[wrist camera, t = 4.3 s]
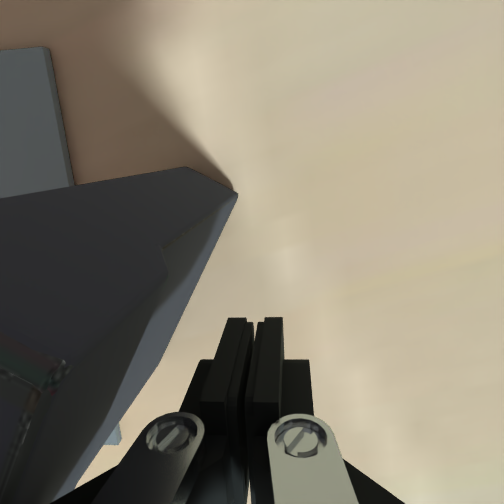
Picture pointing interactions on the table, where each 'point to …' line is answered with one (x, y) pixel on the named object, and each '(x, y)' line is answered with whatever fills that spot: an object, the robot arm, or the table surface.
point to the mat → (32, 132)
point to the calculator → (91, 312)
